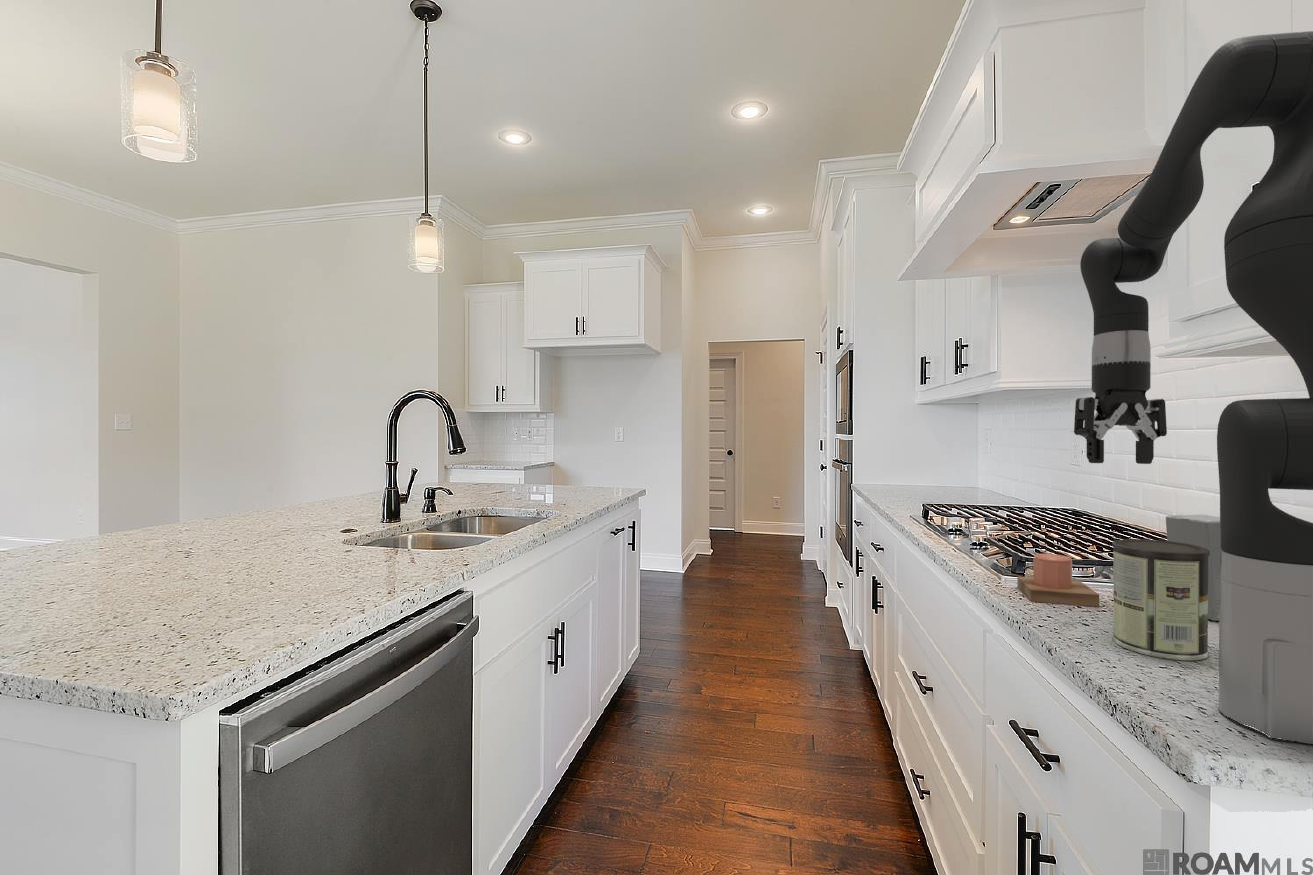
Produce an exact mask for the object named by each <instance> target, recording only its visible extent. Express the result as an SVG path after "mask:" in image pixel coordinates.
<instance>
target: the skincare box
mask: <svg viewBox="0 0 1313 875" xmlns="http://www.w3.org/2000/svg"><path fill="white" fill-rule="evenodd" d="M1165 527H1166V528H1165V529H1166V541H1171V542H1179V543H1186V544H1191V545H1196V546H1200V547H1203V548H1206V549H1208V550H1209V551H1210V555H1209V557H1208V620H1210V621H1215V622H1216V621H1217V622H1218V621H1219V607H1220V550H1221V528H1220V516H1215V515H1208V514H1187V515H1186V514H1185V515H1184V514H1183V515H1181V514H1180V515H1166V516H1165Z"/></svg>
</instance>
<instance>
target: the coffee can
mask: <svg viewBox="0 0 1313 875" xmlns="http://www.w3.org/2000/svg"><path fill="white" fill-rule="evenodd" d="M1111 543H1112V548H1113V565H1112V566H1113V568H1112V570H1113V575H1112V576H1113V594H1112V595H1113V600H1112V601H1113V606H1112V607H1113V610H1112V611H1113V614H1112V615H1113V619H1112V620H1113V625H1112V626H1113V636H1112V641H1113V642H1114V643H1115V644H1116V645H1118V646H1119V647H1122V648H1124V649H1126V650H1129V651H1132V652H1135V653H1139V654H1142V655H1146V656H1150V657H1153V658H1159V659H1165V660H1173V661H1188V662H1189V661H1190V662H1191V661H1202V660H1206V659H1207V658H1208V657H1209V655H1210V654H1209V652H1208V651H1209V650H1208V648H1209V645H1208V644H1209V642H1208V638H1209V637H1208V635H1209V634H1208V632H1209V630H1208V629H1209V621H1208V620H1209V619H1208V557H1209V555H1210V551H1209V550H1208V549H1206V548H1203V547H1200V546H1196V545H1191V544H1186V543H1179V542H1171V541H1167V540H1161V539H1160V540H1159V539H1158V540H1157V539H1147V538H1145V539H1144V538H1143V539H1142V538H1140V539H1139V538H1125V539H1123V538H1122V539H1117V540H1113V541H1112V542H1111Z"/></svg>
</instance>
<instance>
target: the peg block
mask: <svg viewBox="0 0 1313 875" xmlns="http://www.w3.org/2000/svg"><path fill="white" fill-rule="evenodd" d="M1016 585H1017V588H1018V589H1019V590H1020V591H1021V593H1023V595H1024V596H1025V597H1026V598H1027V599H1028V600H1029V601H1030V602H1033V603H1034V602H1035V603H1044V604H1045V603H1047V604H1055V605H1056V604H1057V605H1059V604H1060V605H1072V606H1083V607H1084V606H1085V607H1096V608H1100V594H1098V593H1097V592H1096V591H1095V590H1093V589H1092V588H1090V587H1089V586H1088V585H1087V584H1085V583H1084V582H1082V581H1081V580H1077V579H1076V580H1075V579H1072V587H1071V589H1054V588H1047V587H1041V586H1039V585H1036V584H1033V576H1032V577H1030V576H1017V584H1016Z"/></svg>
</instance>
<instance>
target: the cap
mask: <svg viewBox="0 0 1313 875" xmlns="http://www.w3.org/2000/svg"><path fill="white" fill-rule="evenodd" d="M1032 560H1033V561H1032V562H1033V564H1032V567H1033V568H1032V569H1033V571H1032V577H1033V584H1036V585H1039V586H1041V587H1047V588H1054V589H1071V587H1072V580H1073V560H1072V557H1069V556H1067V555H1062V554H1055V553H1035V554H1034V557H1033V558H1032Z"/></svg>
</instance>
